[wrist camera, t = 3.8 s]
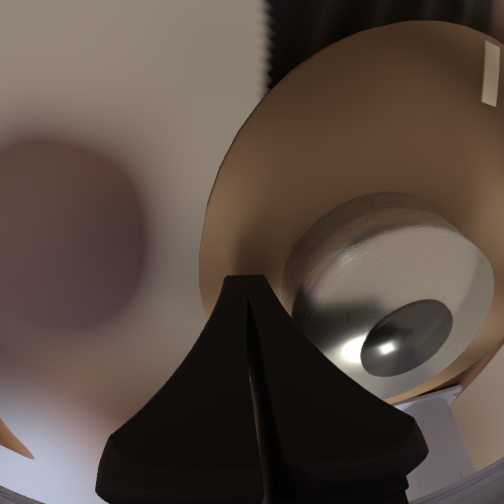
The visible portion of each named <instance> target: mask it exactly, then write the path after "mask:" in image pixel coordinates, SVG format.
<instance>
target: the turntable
mask: <svg viewBox="0 0 504 504" xmlns="http://www.w3.org/2000/svg"><path fill="white" fill-rule="evenodd" d="M376 192H399V193H405V194H408V195H412V196H414V197H416V198H418V199H420V200H422V201H424V202H425V203H426V204H428V205H429V206H430V207H432V208H433V209H434V210H435V211H437V212H438V213H439V214H440V215H441V216H442V217H444V218H445V219H446V220H447V221H448V222H449V223H451V224H452V225H453V226H454V227H455V228H456V229H457V230H459V231H460V232H461V233H462V234H463V235H464V236H465V237H466V238H467V239H469V240H470V241H471V242H472V243H473V244H474V245H475V246H476V247H477V248H478V249H479V250H480V251H481V252H482V253H484V255H485V256H486V258H487V259H488V260H489V263H490V265H491V267H492V271H493V275H494V293H493V299H492V303H491V306H490V309H489V312H488V315H487V317H486V319H485V321H484V323H483V325H482V327H481V328H480V330H479V332H478V333H477V335H476V336H475V338H474V339H473V340H472V342H471V343H470V344H469V345H468V347H467V348H466V349H465V350H464V351H463V352H462V353H461V354H460V355H459V356H458V357H457V358H456V359H455V360H454V361H453V362H452V363H451V364H450V365H449V366H448V367H446V368H445V369H444V370H442V371H441V372H440V373H439V374H437V375H436V376H434V377H433V378H431V379H430V380H428V381H426V382H425V383H423V384H421V385H419V386H418V387H415V388H413V389H411V390H409V391H407V392H405V393H402V394H400V395H397V396H394V397H391V398H388V399H384V400H383V401H385V402H387V403H388V404H392V403H396V402H400V401H403V400H406V399H409V398H412V397H415V396H417V395H420V394H422V393H424V392H427V391H429V390H431V389H433V388H435V387H437V386H439V385H441V384H443V383H445V382H447V381H448V380H450V379H452V378H453V377H455V376H457V375H458V374H460V373H461V372H463V371H465V370H466V369H467V368H469V367H470V366H472V365H473V364H474V363H476V362H477V361H478V360H480V359H481V358H482V357H483V356H484V355H486V354H487V353H488V352H489V351H490V350H491V349H492V348H494V347H495V346H496V345H497V344H498V343H499V342H500V341H501V340H502V339H503V338H504V45H503V44H502V43H500V42H499V41H497V40H496V39H494V38H492V37H491V36H488V35H486V34H484V33H481V32H479V31H477V30H474V29H472V28H469V27H467V26H462V25H458V24H453V23H448V22H442V21H404V22H399V23H394V24H389V25H385V26H380V27H376V28H372V29H368V30H364V31H360V32H357V33H354V34H352V35H350V36H347V37H345V38H343V39H341V40H339V41H336V42H334V43H332V44H330V45H328V46H326V47H324V48H322V49H321V50H319V51H318V52H316V53H315V54H313V55H312V56H310V57H309V58H307V59H306V60H305V61H303V62H302V63H300V64H299V65H297V66H296V67H295V68H293V69H292V70H291V71H290V72H289V73H288V74H287V75H286V76H284V77H283V78H282V79H281V80H280V81H279V82H278V83H277V84H276V85H275V86H274V87H273V88H272V89H271V90H270V91H269V92H268V93H267V94H266V95H265V96H264V97H263V98H262V100H261V101H260V102H259V104H258V105H257V106H256V108H255V109H254V110H253V112H252V113H251V114H250V116H249V117H248V118H247V120H246V121H245V123H244V124H243V125H242V127H241V128H240V130H239V131H238V133H237V134H236V136H235V138H234V140H233V142H232V144H231V146H230V148H229V150H228V152H227V153H226V155H225V157H224V159H223V161H222V163H221V165H220V167H219V170H218V173H217V176H216V179H215V182H214V185H213V188H212V191H211V194H210V197H209V200H208V203H207V209H206V214H205V220H204V226H203V232H202V239H201V245H200V253H199V256H200V257H199V264H200V265H199V272H200V273H199V281H200V282H199V284H200V291H201V297H202V303H203V308H204V313H205V316H206V319H207V322H208V320H209V318H210V316H211V313H212V311H213V309H214V307H215V305H216V302H217V300H218V297H219V295H220V292H221V289H222V285H223V280H224V278H225V277H226V276H227V275H264V276H265V277H266V279H267V281H268V283H269V284H270V286H271V288H272V290H273V291H274V293H275V295H276V296H277V298H278V299H279V301H280V302H281V304H282V305H283V307H284V304H283V298H282V279H283V273H284V270H285V267H286V264H287V261H288V259H289V257H290V255H291V252H292V250H293V249H294V247H295V246H296V244H297V243H298V241H299V240H300V238H301V237H302V236H303V235H304V233H305V232H306V231H307V230H308V229H309V228H310V227H311V226H312V225H313V224H314V223H315V222H316V221H317V220H318V219H319V218H321V217H322V216H323V215H325V214H326V213H327V212H329V211H330V210H332V209H333V208H335V207H337V206H338V205H340V204H342V203H344V202H346V201H348V200H351V199H353V198H356V197H359V196H362V195H365V194H370V193H376ZM249 377H250V376H249Z"/></svg>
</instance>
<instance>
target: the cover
mask: <svg viewBox="0 0 504 504" xmlns="http://www.w3.org/2000/svg"><path fill="white" fill-rule="evenodd" d="M493 293H494V275H493V271H492V267H491V265H490V263H489V260H488V259H487V258H486V256H485V255H484V253H482V252H481V251H480V250H479V249H478V248H477V247H476V246H475V245H474V244H473V243H472V242H471V241H470V240H469V239H467V238H466V237H465V236H464V235H463V234H462V233H461V232H460V231H459V230H457V229H456V228H455V227H454V226H453V225H452V224H451V223H449V222H448V221H447V220H446V219H445V218H444V217H442V216H441V215H440V214H439V213H438V212H437V211H435V210H434V209H433V208H432V207H430V206H429V205H428V204H426V203H425V202H424V201H422V200H420V199H418V198H416V197H414V196H412V195H408V194H405V193H399V192H376V193H370V194H365V195H362V196H359V197H356V198H353V199H351V200H348V201H346V202H344V203H342V204H340V205H338V206H337V207H335V208H333V209H332V210H330V211H329V212H327V213H326V214H325V215H323V216H322V217H321V218H319V219H318V220H317V221H316V222H315V223H314V224H313V225H312V226H311V227H310V228H309V229H308V230H307V231H306V232H305V233H304V235H303V236H302V237H301V238H300V240H299V241H298V243H297V244H296V246H295V247H294V249H293V250H292V252H291V255H290V257H289V259H288V261H287V264H286V267H285V270H284V273H283V279H282V298H283V304H284V308H285V309H286V311H287V312H288V314H289V315H290V316H291V318H292V319H293V320H294V322H295V323H296V324H297V325H298V327H299V328H300V329H301V330H302V331H303V333H304V334H305V335H306V336H307V337H308V338H309V339H310V341H311V342H312V343H313V344H314V345H315V346H316V347H317V348H318V349H319V350H320V351H321V352H322V353H323V354H324V355H325V356H326V357H327V358H328V359H329V360H330V361H331V362H333V363H334V364H335V365H336V366H337V367H338V368H339V369H340V370H342V371H343V372H344V373H345V374H347V375H348V376H349V377H351V378H352V379H353V380H354V381H356V382H357V383H358V384H360V385H361V386H362V387H363V388H365V389H366V390H368V391H369V392H371V393H372V394H374V395H375V396H377V397H378V398H380V399H382V400H384V399H388V398H391V397H394V396H397V395H400V394H402V393H405V392H407V391H409V390H411V389H413V388H415V387H418V386H419V385H421V384H423V383H425V382H426V381H428V380H430V379H431V378H433V377H434V376H436V375H437V374H439V373H440V372H441V371H442V370H444V369H445V368H446V367H448V366H449V365H450V364H451V363H452V362H453V361H454V360H455V359H456V358H457V357H458V356H459V355H460V354H461V353H462V352H463V351H464V350H465V349H466V348H467V347H468V345H469V344H470V343H471V342H472V340H473V339H474V338H475V336H476V335H477V333H478V332H479V330H480V328H481V327H482V325H483V323H484V321H485V319H486V317H487V315H488V312H489V309H490V306H491V303H492V299H493Z"/></svg>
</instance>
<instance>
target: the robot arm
mask: <svg viewBox="0 0 504 504" xmlns="http://www.w3.org/2000/svg"><path fill="white" fill-rule="evenodd" d="M249 376H250V377H249ZM250 382H251V386H250ZM251 387H252V393H253V399H254V404H255V411H256V421H257V432H256V425H255V418H254V410H253V402H252V394H251ZM461 390H462V386H461V385H457V386H453V387H450V388H447V389H443V390H440V391H436V392H433V393H429V394H425V395H421V396H417V397H413V398H409V399H406V400H403V401H400V402H396V403H392V404H388V403H387V402H385V401H383V400H382V399H380V398H378V397H377V396H375V395H374V394H372V393H371V392H369V391H368V390H366V389H365V388H363V387H362V386H361V385H360V384H358V383H357V382H356V381H354V380H353V379H352V378H351V377H349V376H348V375H347V374H345V373H344V372H343V371H342V370H340V369H339V368H338V367H337V366H336V365H335V364H334V363H333V362H331V361H330V360H329V359H328V358H327V357H326V356H325V355H324V354H323V353H322V352H321V351H320V350H319V349H318V348H317V347H316V346H315V345H314V344H313V343H312V342H311V341H310V339H309V338H308V337H307V336H306V335H305V334H304V333H303V331H302V330H301V329H300V328H299V327H298V325H297V324H296V323H295V322H294V320H293V319H292V318H291V316H290V315H289V314H288V312H287V311H286V309H285V308H284V307H283V305H282V304H281V302H280V301H279V299H278V298H277V296H276V295H275V293H274V291H273V290H272V288H271V286H270V284H269V283H268V281H267V279H266V277H265V276H264V275H227V276H226V277H225V278H224V280H223V285H222V289H221V292H220V295H219V297H218V300H217V302H216V305H215V307H214V309H213V311H212V313H211V316H210V318H209V320H208V322H207V323H206V325H205V327H204V329H203V331H202V332H201V334H200V336H199V338H198V339H197V341H196V343H195V344H194V346H193V347H192V349H191V351H190V352H189V353H188V355H187V356H186V358H185V359H184V361H183V362H182V363H181V365H180V366H179V367H178V368H177V370H176V371H175V372H174V373H173V375H172V376H171V377H170V378H169V380H168V381H167V382H166V384H165V385H164V386H163V387H162V388H161V389H160V390H159V391H158V392H157V393H156V394H155V395H154V396H153V397H152V398H151V399H150V400H149V402H147V403H146V404H145V406H144V407H143V408H142V409H140V410H139V411H138V412H137V413H136V414H135V415H134V416H133V417H132V418H130V419H129V420H128V421H127V422H126V423H125V424H123V425H122V426H121V427H120V428H119V429H118V430H116V431H115V432H114V433H113V434H111V435H110V436H109V438H108V440H107V443H106V445H105V448H104V451H103V454H102V457H101V459H100V463H99V467H98V473H97V481H96V488H95V492H96V493H97V495H98V496H99V497H100V498H102V499H103V500H104V501H106V502H107V503H109V504H504V457H503V458H501V459H500V460H498V461H496V462H494V463H493V464H491V465H489V466H488V467H486V468H484V469H482V470H480V471H478V472H477V469H476V467H475V464H474V462H473V459H472V457H471V455H470V452H469V450H468V448H467V445H466V443H465V440H464V438H463V436H462V434H461V431H460V429H459V427H458V425H457V423H456V420H455V418H454V416H453V414H452V412H451V410H450V408H449V405H450V404H451V403H452V402H453V400H454V399H455V398H456V396H457V395H458V394H459V393H460V391H461ZM257 434H258V439H257ZM0 504H44V503H42V502H39V501H36V500H34V499H31V498H28V497H26V496H23V495H21V494H18V493H16V492H14V491H11V490H9V489H7V488H5V487H2V486H0Z"/></svg>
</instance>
